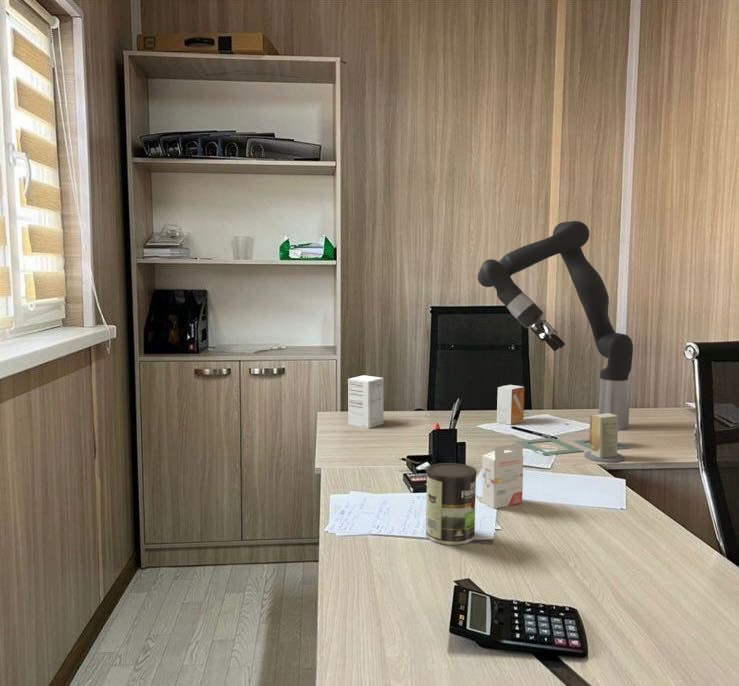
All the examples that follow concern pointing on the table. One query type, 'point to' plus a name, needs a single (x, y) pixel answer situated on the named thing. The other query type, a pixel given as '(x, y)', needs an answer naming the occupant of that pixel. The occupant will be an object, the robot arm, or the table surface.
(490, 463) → the ink cartridge box
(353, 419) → the supplement box
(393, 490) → the table surface
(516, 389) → the small box
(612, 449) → the skincare box
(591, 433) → the walnut block
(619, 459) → the felt coaster
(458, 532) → the coffee can
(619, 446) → the frame
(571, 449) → the frame
